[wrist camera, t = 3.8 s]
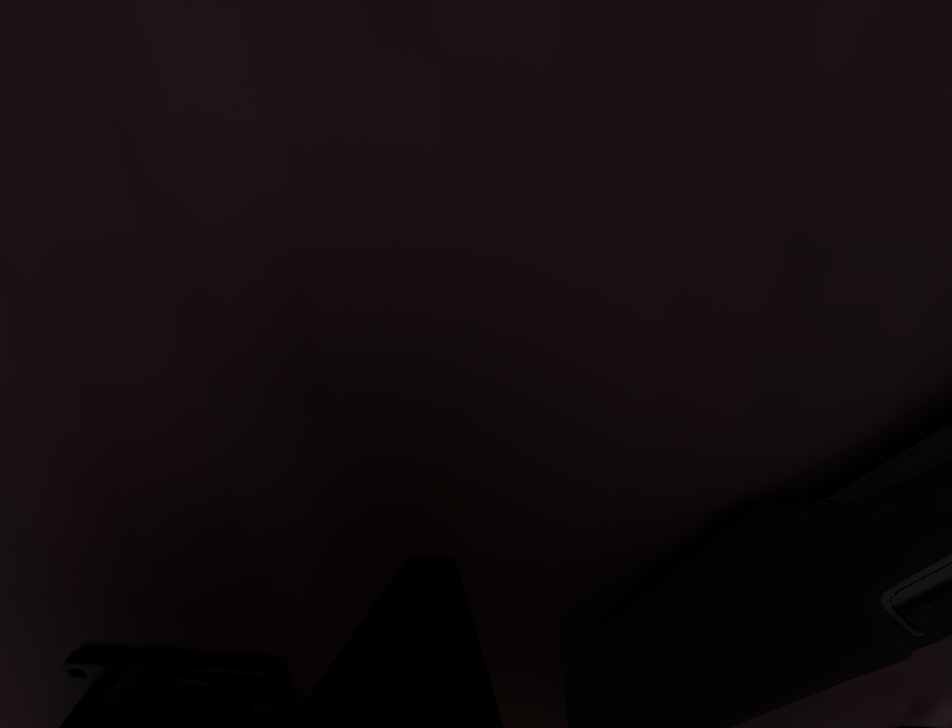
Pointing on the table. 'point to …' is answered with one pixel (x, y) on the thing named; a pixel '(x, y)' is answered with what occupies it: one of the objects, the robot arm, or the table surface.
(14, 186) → the table surface
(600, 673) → the electric trimmer
